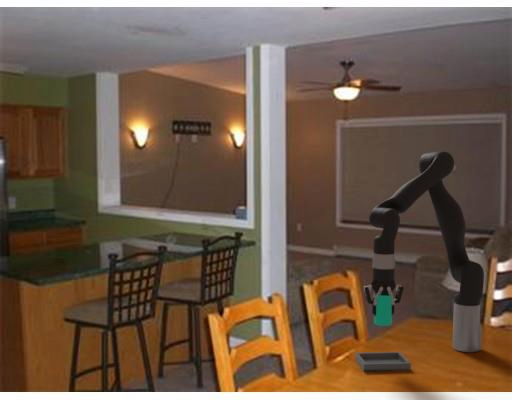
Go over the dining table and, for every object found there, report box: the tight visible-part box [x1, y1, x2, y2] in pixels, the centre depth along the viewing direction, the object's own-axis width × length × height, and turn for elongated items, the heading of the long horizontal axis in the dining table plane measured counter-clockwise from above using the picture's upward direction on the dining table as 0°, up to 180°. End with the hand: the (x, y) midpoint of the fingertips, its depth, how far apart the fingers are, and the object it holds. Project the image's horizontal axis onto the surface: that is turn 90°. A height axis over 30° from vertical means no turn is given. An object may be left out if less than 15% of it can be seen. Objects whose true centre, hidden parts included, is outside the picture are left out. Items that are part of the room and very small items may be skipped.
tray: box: [354, 351, 412, 373], centre depth 215 cm, size 16×12×2 cm
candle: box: [373, 293, 393, 327], centre depth 214 cm, size 6×6×12 cm
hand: (382, 315), depth 214 cm, fingers closed on candle, 4 cm apart
